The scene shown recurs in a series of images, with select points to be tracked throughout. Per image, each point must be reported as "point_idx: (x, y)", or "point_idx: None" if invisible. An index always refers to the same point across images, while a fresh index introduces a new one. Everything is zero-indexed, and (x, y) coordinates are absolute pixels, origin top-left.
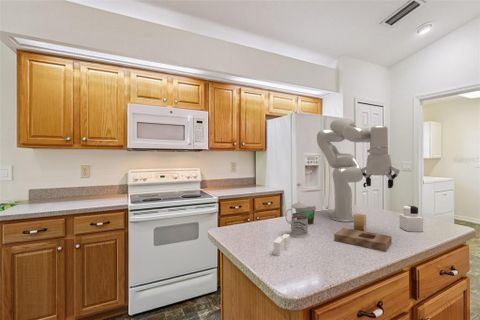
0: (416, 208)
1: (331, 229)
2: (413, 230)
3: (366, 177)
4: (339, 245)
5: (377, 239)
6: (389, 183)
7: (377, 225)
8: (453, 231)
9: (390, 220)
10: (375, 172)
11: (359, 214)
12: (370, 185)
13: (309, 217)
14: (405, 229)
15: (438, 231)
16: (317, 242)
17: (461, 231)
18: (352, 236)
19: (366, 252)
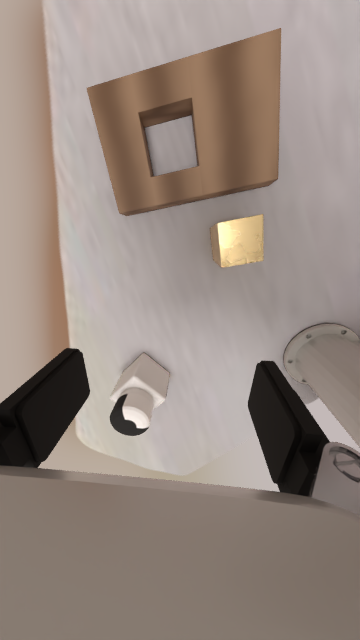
0: (110, 416)
1: (322, 207)
2: (134, 361)
3: (336, 456)
4: (230, 4)
5: (128, 123)
6: (37, 375)
7: (217, 357)
8: (89, 411)
9: (208, 418)
10: (128, 577)
11: (246, 253)
12: (250, 400)
13: None
14: (150, 359)
15: (105, 395)
16: None
17: (82, 419)
18: (205, 71)
19: (130, 23)
